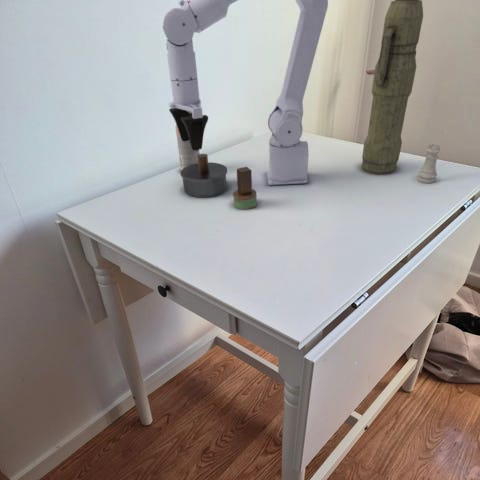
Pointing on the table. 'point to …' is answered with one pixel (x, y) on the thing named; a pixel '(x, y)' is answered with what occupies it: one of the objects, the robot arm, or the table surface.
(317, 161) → the table surface
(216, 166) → the tin lid
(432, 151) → the rook chess piece
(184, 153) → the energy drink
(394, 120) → the green robed figurine
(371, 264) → the table surface
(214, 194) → the tin
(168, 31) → the robot arm
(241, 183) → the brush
